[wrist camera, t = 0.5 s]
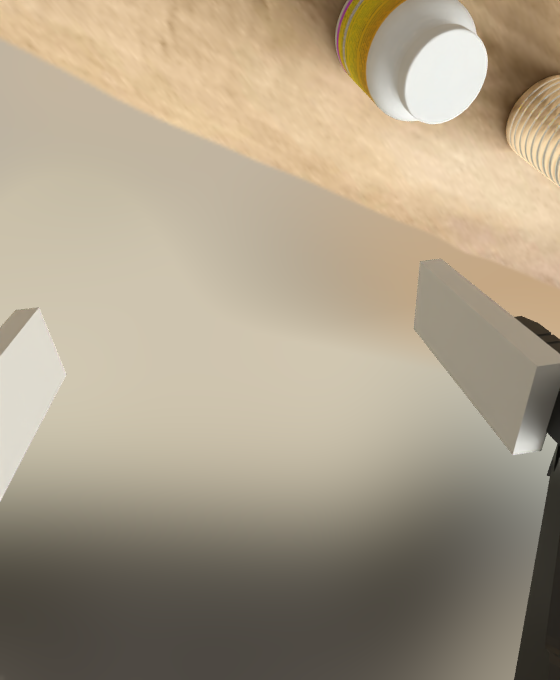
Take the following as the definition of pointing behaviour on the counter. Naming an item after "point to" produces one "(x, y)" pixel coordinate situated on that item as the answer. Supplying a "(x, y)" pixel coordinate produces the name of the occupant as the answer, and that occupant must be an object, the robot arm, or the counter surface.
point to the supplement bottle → (412, 56)
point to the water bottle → (538, 127)
